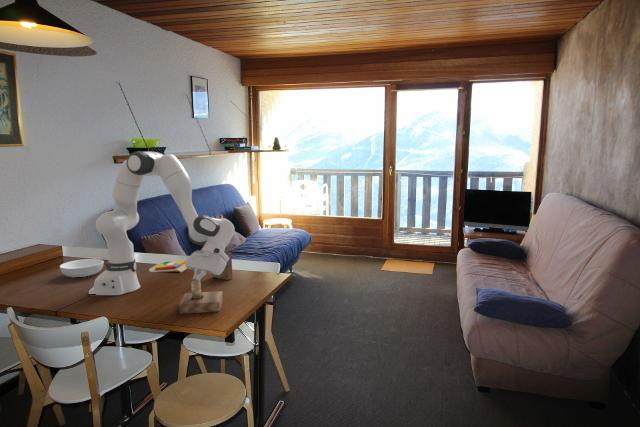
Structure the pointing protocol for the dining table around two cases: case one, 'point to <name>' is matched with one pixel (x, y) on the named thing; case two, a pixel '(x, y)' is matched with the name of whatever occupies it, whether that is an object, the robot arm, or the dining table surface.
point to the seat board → (201, 303)
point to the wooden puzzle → (169, 267)
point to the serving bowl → (82, 267)
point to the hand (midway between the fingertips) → (195, 279)
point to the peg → (196, 290)
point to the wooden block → (226, 270)
